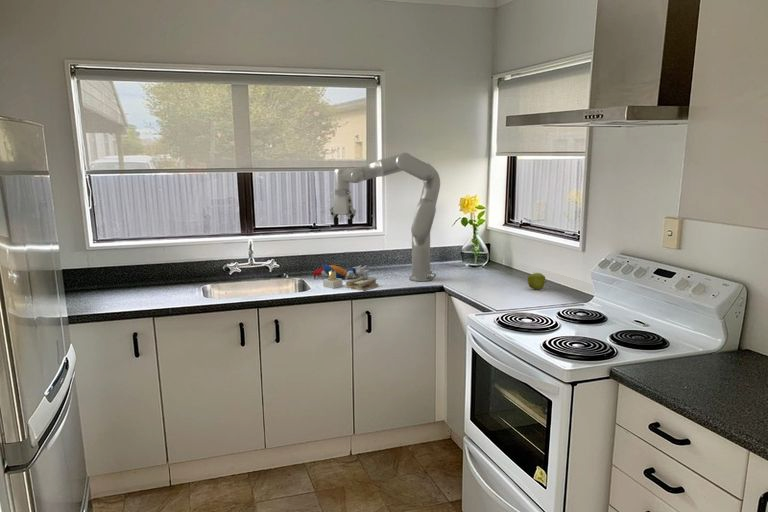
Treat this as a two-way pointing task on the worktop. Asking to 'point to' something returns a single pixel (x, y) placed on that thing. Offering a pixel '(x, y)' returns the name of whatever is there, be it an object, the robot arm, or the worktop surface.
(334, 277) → the cylinder
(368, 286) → the tester base
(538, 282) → the apple
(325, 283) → the holder
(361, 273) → the figurine
